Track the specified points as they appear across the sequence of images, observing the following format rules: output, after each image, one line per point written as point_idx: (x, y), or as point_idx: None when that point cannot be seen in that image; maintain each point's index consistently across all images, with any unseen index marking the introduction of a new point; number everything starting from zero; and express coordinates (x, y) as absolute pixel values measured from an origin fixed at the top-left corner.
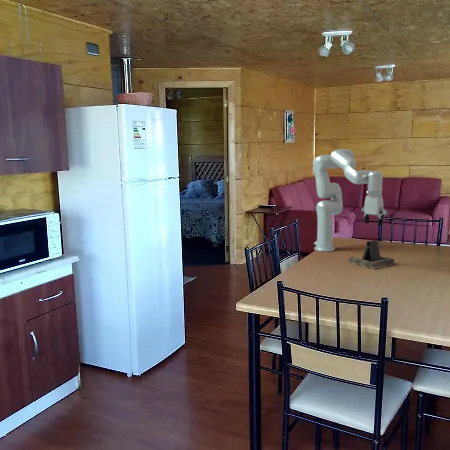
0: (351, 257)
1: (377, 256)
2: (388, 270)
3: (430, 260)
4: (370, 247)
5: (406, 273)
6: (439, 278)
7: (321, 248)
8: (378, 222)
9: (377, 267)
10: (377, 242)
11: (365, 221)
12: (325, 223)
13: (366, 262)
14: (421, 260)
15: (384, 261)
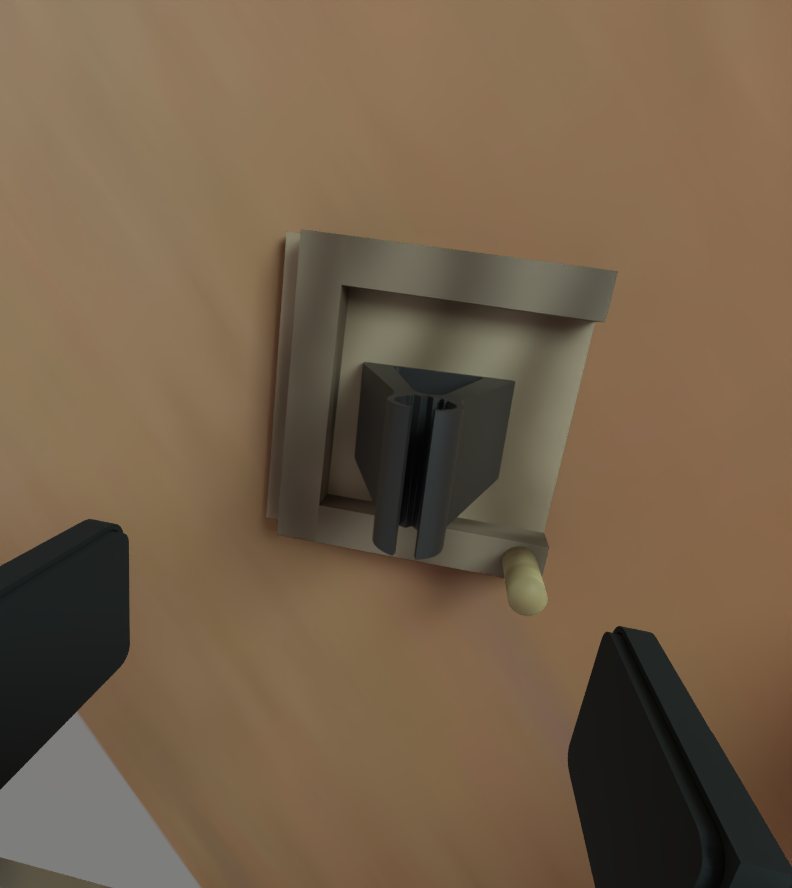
0: (597, 293)
1: (365, 436)
2: (200, 308)
3: (202, 765)
4: (397, 390)
5: (69, 334)
6: None
7: None
8: (16, 567)
9: (284, 286)
10: (373, 531)
11: (624, 670)
12: None
13: (367, 238)
14: (237, 733)
15: (288, 413)
